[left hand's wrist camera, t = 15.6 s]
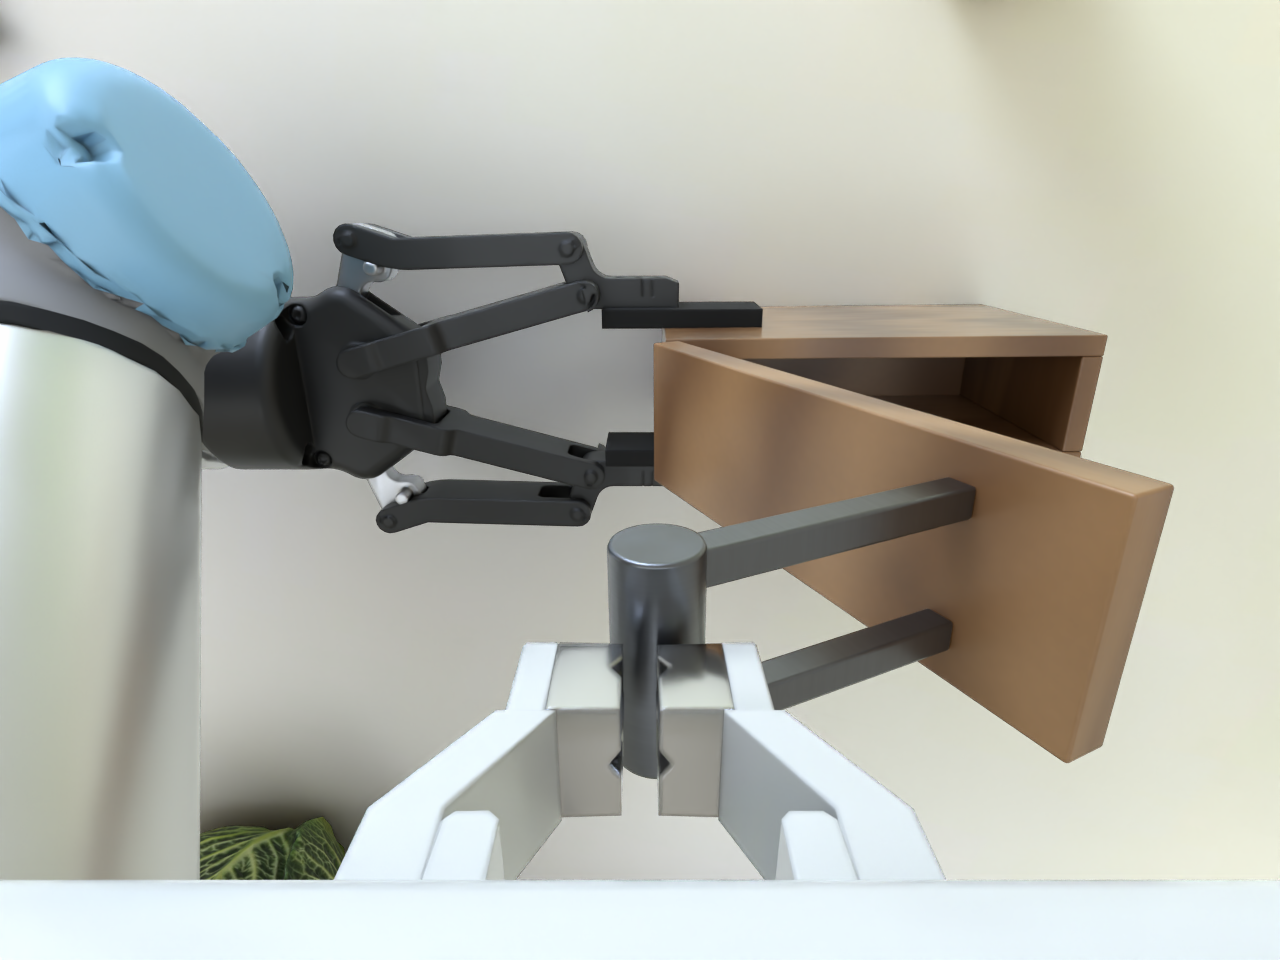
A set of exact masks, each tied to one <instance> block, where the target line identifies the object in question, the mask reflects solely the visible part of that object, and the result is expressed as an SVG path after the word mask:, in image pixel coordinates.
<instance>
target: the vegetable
mask: <svg viewBox="0 0 1280 960" xmlns="http://www.w3.org/2000/svg"><path fill="white" fill-rule="evenodd" d="M344 857H345V852H344V847H343V846H342V845H340V844H339V843H338V842H337V840H336V838H335V836H334V833H333V830H332V827H331V825H330V824H329V823H328V822H327V821H326V820H325V819H324V817H319V818H315V819H312V820H309V821H306V822H305V823H303V824H302V825H300V826H299V827H297V828H296V829H292V828H289V827H288V828H284V829H278V830H269V829H267V828H265V827H254V826H226V827H222V828H217V829H214V830H210V831H207V832H204V833H200V880H334V878H335V876H336V874H337V872H338V869H339V867H340V865H341V863H342V861H343V859H344Z"/></svg>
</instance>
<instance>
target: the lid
mask: <svg viewBox="0 0 1280 960" xmlns="http://www.w3.org/2000/svg"><path fill="white" fill-rule="evenodd" d="M654 480H655V481H656V482H658V483H659V484H661V485H662V486H664V487H665V488H667V489H668V490H670V491H671V492H672V493H674V494H675V495H677V496H678V497H680V498H681V499H683V500H684V501H686V502H687V503H688V504H690V505H691V506H693V507H694V508H696V509H697V510H699V511H700V512H701V513H703V514H704V515H706V516H707V517H709V518H710V519H712V520H713V521H715V522H716V523H717V524H719V525H720V526H722V527H721V528H717V529H712V530H707V531H703V532H698V533H697V532H695V531H693V530H691V529H688V528H685V527H682V526H677V525H671V524H643V525H637V526H633V527H629V528H626V529H624V530H621V531H620V532H618V533H616V534H615V535H614V536H613V537H612V538H611V539H610V541H609V543H608V546H607V562H608V594H609V625H610V644H623V655H624V683H623V692H624V755H623V766H624V767H625V768H626V769H627V770H629V771H630V772H632V773H634V774H636V775H638V776H642V777H645V778H651V779H657V755H656V692H657V683H656V650H657V645H669V644H705V622H706V588H707V587H711V586H715V585H719V584H723V583H727V582H731V581H734V580H738V579H742V578H746V577H750V576H754V575H757V574H761V573H765V572H769V571H773V570H777V569H781V568H783V569H784V570H786V571H787V572H789V573H790V574H791V575H793V576H794V577H796V578H797V579H799V580H800V581H802V582H803V583H805V584H806V585H807V586H809V587H810V588H812V589H813V590H815V591H816V592H818V593H819V594H821V595H822V596H823V597H825V598H826V599H828V600H829V601H831V602H832V603H834V604H835V605H836V606H838V607H839V608H841V609H842V610H844V611H845V612H847V613H848V614H850V615H851V616H852V617H854V618H855V619H857V620H858V621H860V622H861V623H863V624H864V625H866V626H867V627H868V628H865V629H862V630H859V631H856V632H853V633H850V634H847V635H843V636H840V637H837V638H834V639H831V640H828V641H825V642H822V643H819V644H816V645H812V646H809V647H806V648H803V649H800V650H797V651H794V652H791V653H788V654H785V655H781V656H778V657H775V658H772V659H769V660H766V661H763V662H761V663H762V667H763V670H764V674H765V678H766V681H767V685H768V688H769V692H770V695H771V699H772V702H773V706H774V710H784V709H786V708H789V707H792V706H795V705H797V704H800V703H803V702H806V701H808V700H811V699H814V698H817V697H820V696H822V695H825V694H828V693H831V692H833V691H836V690H839V689H842V688H844V687H847V686H850V685H853V684H855V683H858V682H861V681H864V680H867V679H869V678H872V677H875V676H878V675H880V674H883V673H886V672H889V671H891V670H894V669H897V668H900V667H902V666H905V665H908V664H911V663H914V662H916V661H918V662H919V663H921V664H922V665H924V666H925V667H926V668H928V669H929V670H931V671H932V672H934V673H935V674H937V675H938V676H940V677H941V678H942V679H944V680H945V681H947V682H948V683H950V684H951V685H953V686H954V687H956V688H957V689H958V690H960V691H961V692H963V693H964V694H966V695H967V696H969V697H970V698H971V699H973V700H974V701H976V702H977V703H979V704H980V705H982V706H983V707H985V708H986V709H987V710H989V711H990V712H992V713H993V714H995V715H996V716H998V717H999V718H1001V719H1002V720H1003V721H1005V722H1006V723H1008V724H1009V725H1011V726H1012V727H1014V728H1015V729H1016V730H1018V731H1019V732H1021V733H1022V734H1024V735H1025V736H1027V737H1028V738H1030V739H1031V740H1032V741H1034V742H1035V743H1037V744H1038V745H1040V746H1041V747H1043V748H1044V749H1046V750H1047V751H1048V752H1050V753H1051V754H1053V755H1054V756H1056V757H1057V758H1059V759H1060V760H1061V761H1063V762H1065V763H1070V762H1072V761H1074V760H1076V759H1078V758H1080V757H1082V756H1084V755H1086V754H1088V753H1090V752H1092V751H1094V750H1096V749H1098V748H1099V747H1101V746H1102V744H1103V741H1104V737H1105V734H1106V730H1107V727H1108V723H1109V720H1110V716H1111V712H1112V709H1113V705H1114V702H1115V698H1116V694H1117V691H1118V687H1119V684H1120V680H1121V677H1122V673H1123V669H1124V666H1125V662H1126V659H1127V655H1128V651H1129V648H1130V644H1131V641H1132V637H1133V633H1134V630H1135V626H1136V623H1137V619H1138V616H1139V612H1140V608H1141V605H1142V601H1143V598H1144V594H1145V590H1146V587H1147V583H1148V580H1149V576H1150V572H1151V569H1152V565H1153V562H1154V558H1155V555H1156V551H1157V547H1158V544H1159V540H1160V537H1161V533H1162V529H1163V526H1164V522H1165V519H1166V515H1167V511H1168V508H1169V504H1170V501H1171V497H1172V494H1173V490H1174V486H1173V485H1171V484H1169V483H1166V482H1162V481H1159V480H1155V479H1152V478H1148V477H1145V476H1142V475H1138V474H1135V473H1131V472H1128V471H1124V470H1121V469H1117V468H1114V467H1111V466H1107V465H1104V464H1100V463H1097V462H1093V461H1090V460H1086V459H1083V458H1080V457H1076V456H1073V455H1069V454H1066V453H1062V452H1059V451H1055V450H1052V449H1048V448H1045V447H1042V446H1038V445H1035V444H1031V443H1028V442H1024V441H1021V440H1017V439H1014V438H1011V437H1007V436H1004V435H1000V434H997V433H993V432H990V431H986V430H983V429H980V428H976V427H973V426H969V425H966V424H962V423H959V422H955V421H952V420H949V419H945V418H942V417H938V416H935V415H931V414H928V413H924V412H921V411H917V410H914V409H911V408H907V407H904V406H900V405H897V404H893V403H890V402H886V401H883V400H880V399H876V398H873V397H869V396H866V395H862V394H859V393H855V392H852V391H849V390H845V389H842V388H838V387H835V386H831V385H828V384H824V383H821V382H817V381H814V380H811V379H807V378H804V377H800V376H797V375H793V374H790V373H786V372H783V371H780V370H776V369H773V368H769V367H766V366H762V365H759V364H755V363H752V362H749V361H745V360H742V359H738V358H735V357H731V356H728V355H724V354H721V353H718V352H714V351H711V350H707V349H704V348H700V347H697V346H693V345H690V344H686V343H683V342H680V341H673V342H662V343H655V344H654Z"/></svg>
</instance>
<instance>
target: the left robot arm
mask: <svg viewBox="0 0 1280 960" xmlns="http://www.w3.org/2000/svg"><path fill="white" fill-rule="evenodd" d="M623 683H624V655H623V644H609V643H559V644H558V643H557V642H527V643H526V644H525V645H524V646H523V648H522V652H521V656H520V659H519V663H518V666H517V670H516V674H515V677H514V681H513V684H512V688H511V692H510V695H509V699H508V702H507V706H506V710H496V711H494V712H493V713H491V714H490V715H489V716H488V717H486V718H485V719H484V720H482V721H481V722H480V723H478V724H477V725H476V726H474V727H473V728H472V729H470V730H469V731H468V732H466V733H465V734H464V735H463V736H461V737H460V738H459V739H457V740H456V741H455V742H453V743H452V744H451V745H449V746H448V747H447V748H445V749H444V750H443V751H442V752H440V753H439V754H438V755H436V756H435V757H434V758H432V759H431V760H430V761H428V762H427V763H426V764H424V765H423V766H422V767H420V768H419V769H418V770H417V771H415V772H414V773H413V774H411V775H410V776H409V777H407V778H406V779H405V780H403V781H402V782H401V783H399V784H398V785H397V786H395V787H394V788H393V789H392V790H390V791H389V792H388V793H386V794H385V795H384V796H382V797H381V798H380V799H378V800H377V801H376V802H374V803H373V804H372V805H371V806H369V807H368V808H367V810H366V812H365V814H364V816H363V818H362V821H361V823H360V825H359V827H358V829H357V831H356V833H355V835H354V838H353V840H352V842H351V844H350V846H349V848H348V850H347V852H346V855H345V857H344V859H343V861H342V863H341V865H340V867H339V869H338V872H337V874H336V876H335V878H334V880H0V960H1280V880H946V878H945V876H944V874H943V872H942V869H941V867H940V865H939V863H938V861H937V859H936V857H935V854H934V852H933V850H932V848H931V846H930V844H929V841H928V839H927V837H926V835H925V833H924V831H923V829H922V826H921V824H920V822H919V820H918V818H917V816H916V813H915V811H914V809H913V808H912V807H910V806H909V805H908V804H906V803H905V802H904V801H902V800H901V799H900V798H898V797H897V796H896V795H895V794H893V793H892V792H891V791H889V790H888V789H887V788H885V787H884V786H883V785H881V784H880V783H879V782H878V781H876V780H875V779H874V778H872V777H871V776H870V775H868V774H867V773H866V772H864V771H863V770H862V769H861V768H859V767H858V766H857V765H855V764H854V763H853V762H851V761H850V760H849V759H847V758H846V757H845V756H844V755H842V754H841V753H840V752H838V751H837V750H836V749H834V748H833V747H832V746H830V745H829V744H828V743H827V742H825V741H824V740H823V739H821V738H820V737H819V736H817V735H816V734H815V733H813V732H812V731H811V730H810V729H808V728H807V727H806V726H804V725H803V724H802V723H800V722H799V721H798V720H796V719H795V718H794V717H792V716H791V715H790V714H789V713H787V712H786V711H784V710H774V706H773V702H772V699H771V695H770V692H769V688H768V685H767V681H766V678H765V674H764V670H763V667H762V663H761V660H760V656H759V653H758V649H757V646H756V644H755V643H753V642H735V643H720V644H669V645H657V650H656V683H657V692H656V755H657V786H658V809H659V815H662V816H697V817H719V821H720V822H721V824H722V825H723V826H724V828H725V829H726V830H727V832H728V833H729V834H730V835H731V837H732V838H733V839H734V841H735V842H736V843H737V845H738V846H739V847H740V848H741V850H742V851H743V852H744V854H745V855H746V856H747V858H748V859H749V860H750V861H751V863H752V864H753V865H754V867H755V868H756V869H757V870H758V872H759V873H760V874H761V876H762V877H763V878H764V880H516V879H517V877H518V876H519V875H520V873H521V872H522V871H523V870H524V868H525V867H526V866H527V864H528V863H529V862H530V861H531V859H532V858H533V857H534V855H535V854H536V853H537V852H538V850H539V849H540V848H541V846H542V845H543V844H544V843H545V841H546V840H547V839H548V837H549V836H550V835H551V834H552V832H553V831H554V830H555V828H556V827H557V826H558V824H559V823H560V822H561V817H582V816H616V815H621V811H622V786H623V755H624V692H623Z"/></svg>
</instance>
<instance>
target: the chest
mask: <svg viewBox="0 0 1280 960" xmlns="http://www.w3.org/2000/svg"><path fill="white" fill-rule="evenodd" d="M761 308H762V309H763V317H762V327H745V328H662V342H673V341H680V342H683V343H686V344H690V345H693V346H697V347H700V348H704V349H707V350H711V351H714V352H718V353H721V354H724V355H728V356H731V357H735V358H738V359H742V360H745V361H749V362H752V363H755V364H759V365H762V366H766V367H769V368H773V369H776V370H780V371H783V372H786V373H790V374H793V375H797V376H800V377H804V378H807V379H811V380H814V381H817V382H821V383H824V384H828V385H831V386H835V387H838V388H842V389H845V390H849V391H852V392H855V393H859V394H862V395H866V396H869V397H873V398H876V399H880V400H883V401H886V402H890V403H893V404H897V405H900V406H904V407H907V408H911V409H914V410H917V411H921V412H924V413H928V414H931V415H935V416H938V417H942V418H945V419H949V420H952V421H955V422H959V423H962V424H966V425H969V426H973V427H976V428H980V429H983V430H986V431H990V432H993V433H997V434H1000V435H1004V436H1007V437H1011V438H1014V439H1017V440H1021V441H1024V442H1028V443H1031V444H1035V445H1038V446H1042V447H1045V448H1048V449H1052V450H1055V451H1059V452H1062V453H1066V454H1069V455H1073V456H1076V457H1080V456H1081V452H1080V451H1082V448H1083V444H1084V439H1085V435H1086V430H1087V426H1088V421H1089V417H1090V412H1091V408H1092V403H1093V399H1094V394H1095V390H1096V385H1097V381H1098V377H1099V372H1100V368H1101V363H1102V359H1103V357H1102V356H1103V355H1104V350H1105V346H1106V341H1107V337H1108V336H1107V335H1105V334H1101V333H1097V332H1092V331H1088V330H1084V329H1080V328H1076V327H1072V326H1068V325H1064V324H1060V323H1056V322H1052V321H1048V320H1043V319H1039V318H1035V317H1031V316H1027V315H1023V314H1019V313H1015V312H1011V311H1007V310H1003V309H999V308H994V307H990V306H986V305H982V304H961V305H863V306H766V307H761Z"/></svg>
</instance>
